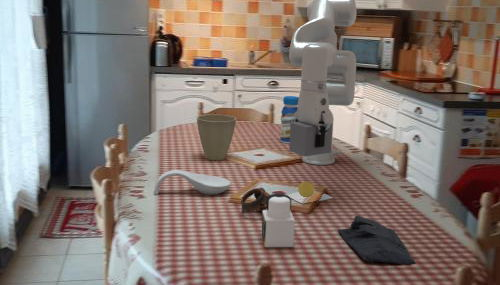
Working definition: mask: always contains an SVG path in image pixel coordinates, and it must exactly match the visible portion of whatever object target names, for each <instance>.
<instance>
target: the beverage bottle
mask: <svg viewBox="0 0 500 285" xmlns="http://www.w3.org/2000/svg"><path fill="white" fill-rule="evenodd" d="M298 100H299V96H295V95H285V96H283V100H282V101H283V102H282V103H283V105H284V106H283V107H282V109H281V116H280V142H281V143H282V144H283V143H284V144H287V145H288V144H289V145H290V123H291V122H295V117H294V113H295V112H296V111H297V110H298Z"/></svg>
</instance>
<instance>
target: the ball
mask: <svg viewBox="0 0 500 285" xmlns="http://www.w3.org/2000/svg"><path fill="white" fill-rule="evenodd" d="M297 190H298V191H297V192H299V194H300V195H301V196H303V197H310V196H312V195H313V194H314V190H316V189H315V185H314V184H313V183H312V182H310V181H307V180H306V181H302V182H301V183H300V184H299V185H298V189H297Z"/></svg>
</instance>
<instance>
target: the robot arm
mask: <svg viewBox="0 0 500 285" xmlns="http://www.w3.org/2000/svg"><path fill="white" fill-rule="evenodd" d="M306 12H307V14H306V15H307V19H308V22H306V23H304V24H303V25H301V26H300V27H299V28H297V29H296V30H294V33H293V34H292V38H291V41H290V46H289V49H288V50H289V52H288V57H289V61H290V63H291V64H292V65H293V66H295V67H301V75H300V78H301V79H300V91H299V96H298V97H299V100H298V105H297V106H298V110H297V111H296V112H295V113H294V117H295V122H303V123H306V124H310V125H313V126H316V131H317V134H316V137H315V147H316V148H318V147H324V143H325V134H326V133H327V131H328V130H329V127H330V126H331V124H333V125H332V137H333V134H334V133H333V132H334V121H335V120H334V114H333V112H332V111H331V109H330V106H341V107H342V106H343V107H344V106H345V107H347V106H351V105H352V104H353V102H354V100H355V92H356V74H357V57H356V54H355V53H354V52H353V51H351V50H343V49H341V50H339V49H338V48H337V45H338V36H337V35H338V34H336V31H335V27H351V26H353V25H354V24H355V23H356V22H355V21H356V19H357V12H358V11H357V3H356V0H313V1H312V2H310V3H309V4H308V5H307V8H306ZM328 76H329V77H341V78H342V79H332V78H331V79H330V78H329V79H327V78H328ZM319 123H320V124H319ZM319 126H322V128H321V129H320V128H319ZM341 152H342V151H341V149H333V141H332V142H331V153H325V154H318V155H312V156H301V157H302V158H301V160H302V161H303V162H304V163H307V164H311V165H314V166H315V165H316V166H317V165H318V166H326V165H332V164H334V163H335V162H336V158H335V157H334V156H337V155H340V154H342V153H341Z"/></svg>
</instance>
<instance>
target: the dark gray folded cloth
mask: <svg viewBox="0 0 500 285" xmlns="http://www.w3.org/2000/svg"><path fill="white" fill-rule="evenodd" d="M337 232H338V234H340V236H341V237H342V238H343V240H344V241H345V242H346V243H347V245H350V247H351V248H352V249H353V250H354V251H355V253H356V254H357V255H358V256H359V257H360V258H361V259H363V260H364V261H366V262H377V263H378V262H379V263H388V264H394V265H395V264H396V265H405V266H407V265H412V264H416V261H415V259H414V258H413V257H412V256H411V254H410V252H409V251H408V248H407V247H406V245H405V244H404V242H403V241H402V240H401V237H399V235H398V234H397V232H396V231H395V229H393V228H390V227H387V226H384V225H382V224H381V223H380V222H377V221H376V220H373V219H371V218H366V217H363V216H360V215H355V216H354V218H353V221H352V223H350V227H349V228H340V229H339V228H338V230H337Z"/></svg>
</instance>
